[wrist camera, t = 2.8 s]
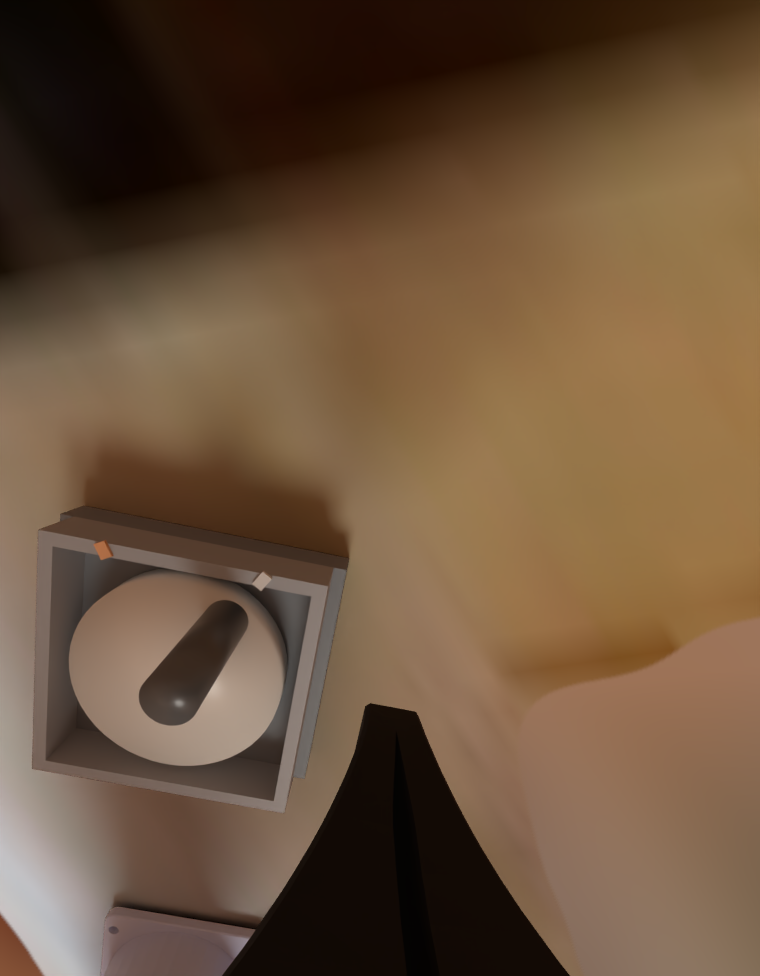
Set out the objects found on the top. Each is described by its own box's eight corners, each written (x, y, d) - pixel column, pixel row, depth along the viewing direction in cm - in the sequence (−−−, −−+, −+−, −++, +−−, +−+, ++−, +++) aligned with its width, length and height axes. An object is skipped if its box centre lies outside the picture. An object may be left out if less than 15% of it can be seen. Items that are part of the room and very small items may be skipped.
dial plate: (309, 755, 19) (296, 818, 16) (73, 712, 18) (16, 769, 16) (349, 555, 17) (342, 587, 14) (83, 503, 16) (20, 524, 14)
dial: (208, 777, 17) (139, 924, 12) (50, 666, 16) (-94, 781, 11) (328, 654, 16) (303, 765, 11) (163, 525, 15) (56, 586, 10)
